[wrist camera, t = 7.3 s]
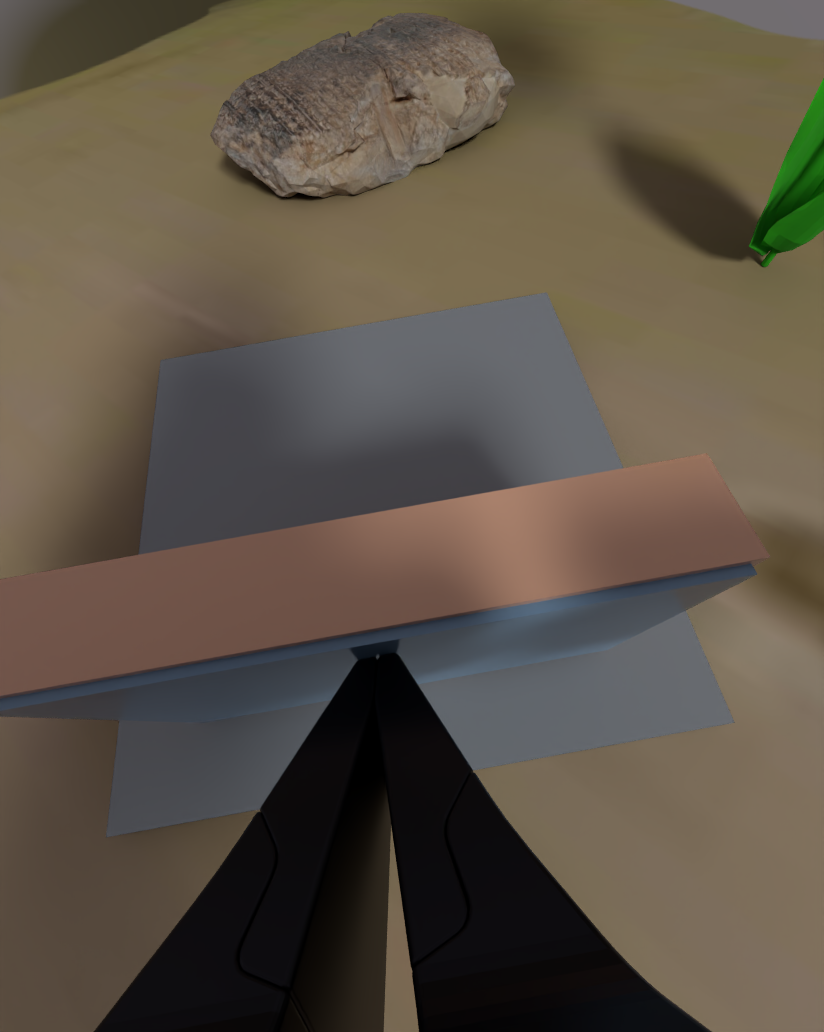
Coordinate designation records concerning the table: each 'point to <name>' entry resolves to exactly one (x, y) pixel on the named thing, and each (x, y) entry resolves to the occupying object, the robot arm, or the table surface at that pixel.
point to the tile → (373, 597)
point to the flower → (796, 190)
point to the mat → (380, 487)
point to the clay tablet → (364, 106)
